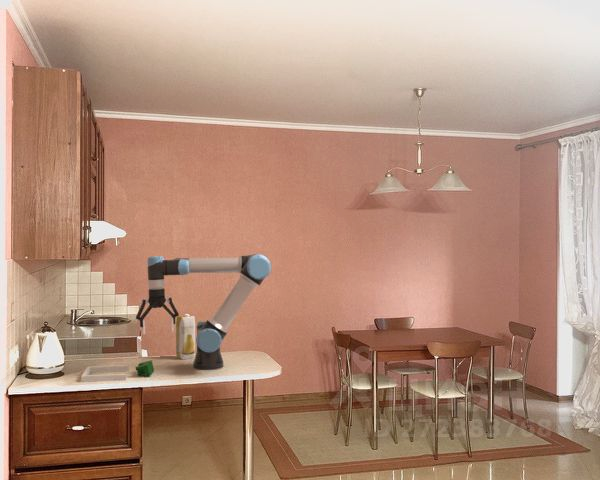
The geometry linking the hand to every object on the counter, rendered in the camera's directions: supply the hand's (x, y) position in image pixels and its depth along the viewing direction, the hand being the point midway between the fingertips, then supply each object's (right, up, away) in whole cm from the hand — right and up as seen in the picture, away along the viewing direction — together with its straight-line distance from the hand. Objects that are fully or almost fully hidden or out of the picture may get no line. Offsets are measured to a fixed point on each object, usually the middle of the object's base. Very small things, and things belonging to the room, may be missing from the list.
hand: (158, 332), depth 297 cm
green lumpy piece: (-6, -20, -1) cm, 21 cm away
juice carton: (+6, -20, +39) cm, 44 cm away
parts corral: (-23, -20, -3) cm, 31 cm away
